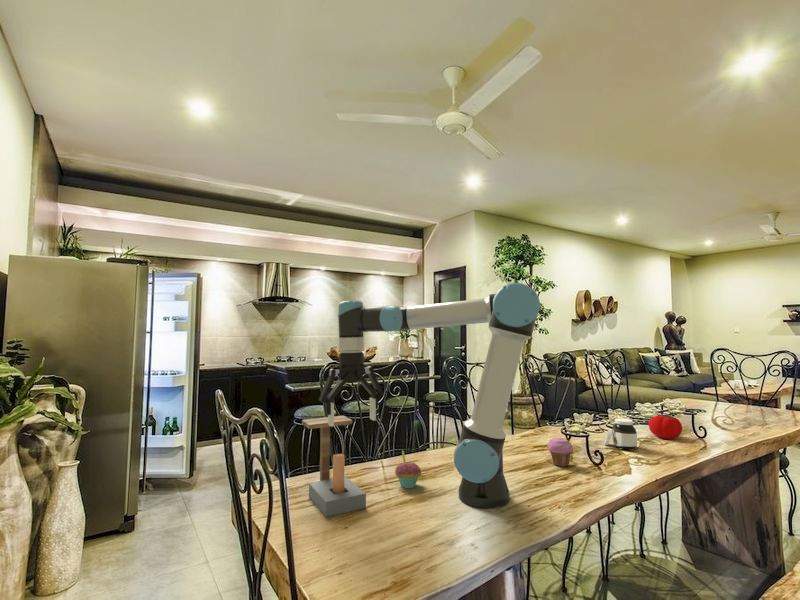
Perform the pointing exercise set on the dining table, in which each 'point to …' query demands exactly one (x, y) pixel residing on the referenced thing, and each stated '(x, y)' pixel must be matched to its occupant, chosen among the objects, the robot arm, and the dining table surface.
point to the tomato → (665, 426)
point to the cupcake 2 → (560, 451)
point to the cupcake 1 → (407, 473)
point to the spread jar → (623, 434)
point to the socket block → (336, 497)
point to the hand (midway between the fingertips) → (352, 422)
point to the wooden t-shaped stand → (325, 440)
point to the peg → (338, 473)
